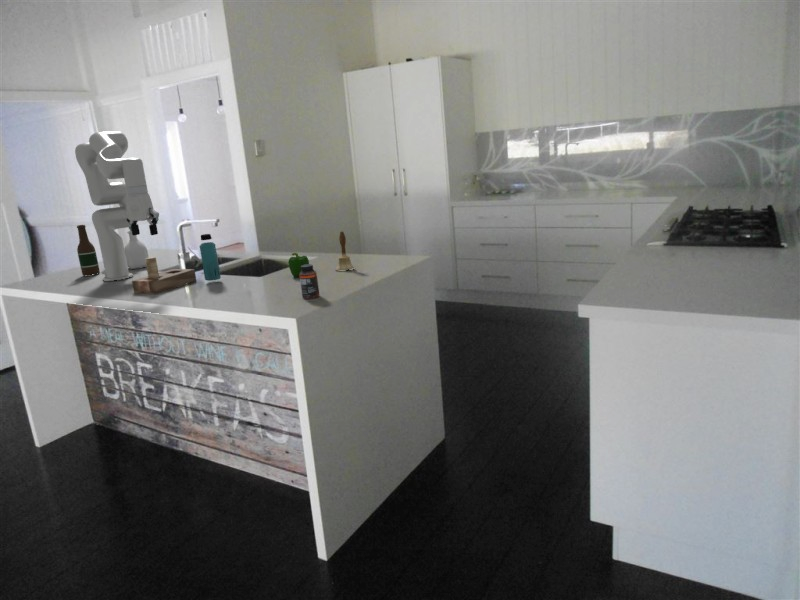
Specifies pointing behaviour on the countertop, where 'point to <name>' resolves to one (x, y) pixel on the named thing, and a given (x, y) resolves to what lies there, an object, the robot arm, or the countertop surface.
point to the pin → (152, 268)
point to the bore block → (164, 281)
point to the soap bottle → (135, 252)
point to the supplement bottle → (309, 282)
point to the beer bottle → (86, 253)
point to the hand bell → (343, 255)
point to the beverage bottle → (209, 259)
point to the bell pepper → (297, 264)
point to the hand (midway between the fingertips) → (145, 234)
